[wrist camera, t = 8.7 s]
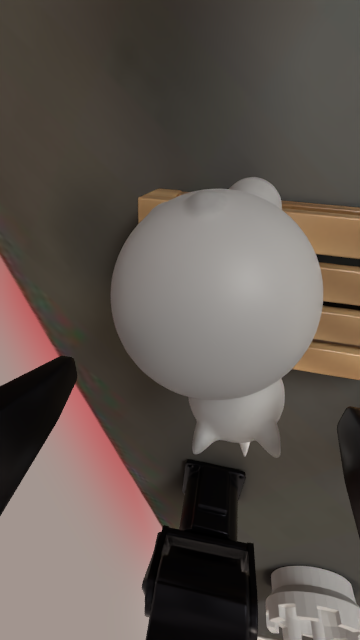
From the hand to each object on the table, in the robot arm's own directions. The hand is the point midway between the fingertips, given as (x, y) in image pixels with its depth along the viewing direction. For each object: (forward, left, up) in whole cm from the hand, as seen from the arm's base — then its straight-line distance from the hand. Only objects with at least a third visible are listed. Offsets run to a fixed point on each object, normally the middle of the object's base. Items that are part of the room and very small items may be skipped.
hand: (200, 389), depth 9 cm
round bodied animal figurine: (0, -1, -8) cm, 8 cm away
